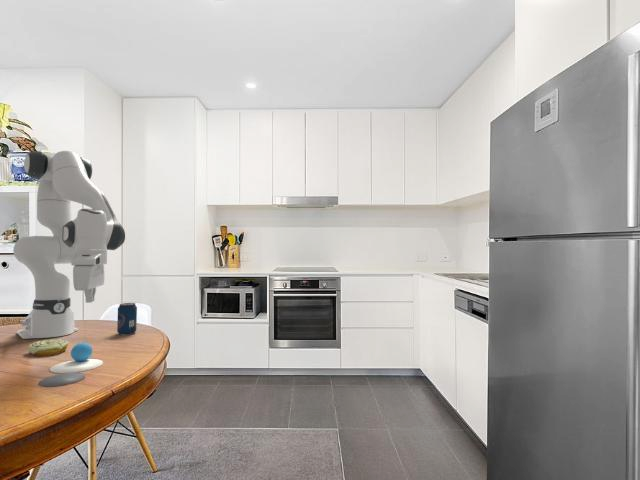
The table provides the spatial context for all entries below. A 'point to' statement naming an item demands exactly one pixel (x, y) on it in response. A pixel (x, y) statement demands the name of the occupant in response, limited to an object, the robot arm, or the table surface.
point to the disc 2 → (76, 366)
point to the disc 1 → (61, 379)
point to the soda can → (127, 319)
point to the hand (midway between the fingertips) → (90, 302)
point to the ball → (81, 352)
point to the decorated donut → (48, 347)
